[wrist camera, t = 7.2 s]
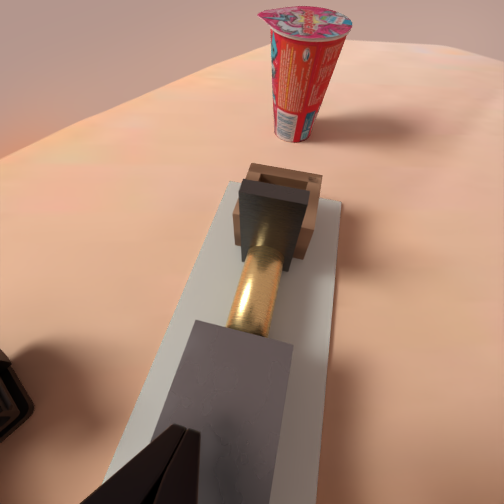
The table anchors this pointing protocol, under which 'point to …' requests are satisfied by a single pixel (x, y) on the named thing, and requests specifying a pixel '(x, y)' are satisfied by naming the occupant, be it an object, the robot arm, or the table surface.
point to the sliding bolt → (264, 250)
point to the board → (281, 329)
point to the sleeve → (231, 409)
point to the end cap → (12, 399)
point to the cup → (302, 64)
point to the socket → (294, 181)
